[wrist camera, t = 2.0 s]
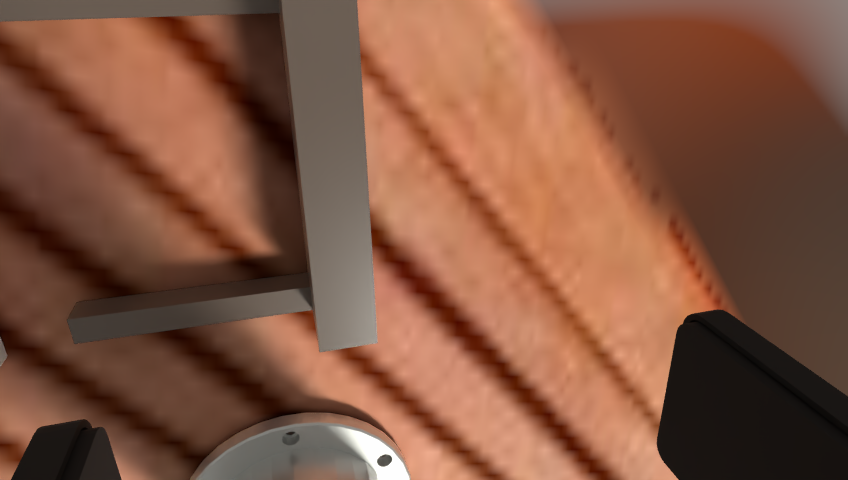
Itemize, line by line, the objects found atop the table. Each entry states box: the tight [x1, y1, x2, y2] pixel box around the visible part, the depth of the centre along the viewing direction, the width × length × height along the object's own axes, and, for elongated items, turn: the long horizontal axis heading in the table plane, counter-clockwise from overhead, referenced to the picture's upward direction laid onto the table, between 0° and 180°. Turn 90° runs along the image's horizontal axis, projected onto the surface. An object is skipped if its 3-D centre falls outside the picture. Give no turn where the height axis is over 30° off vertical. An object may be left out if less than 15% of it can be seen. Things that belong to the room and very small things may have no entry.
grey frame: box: [0, 0, 378, 352], centre depth 22 cm, size 12×14×5 cm
